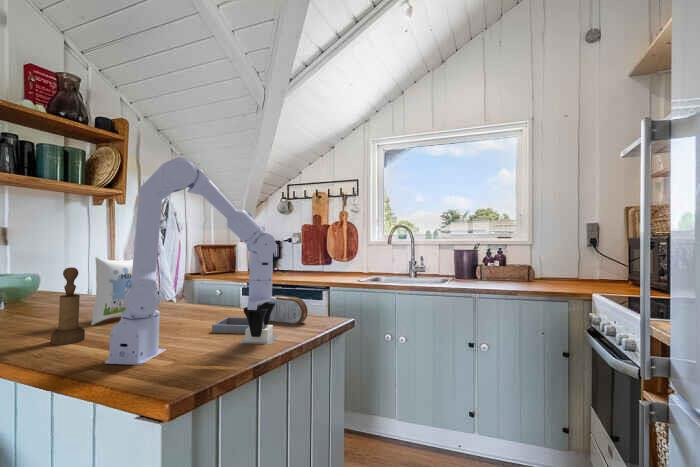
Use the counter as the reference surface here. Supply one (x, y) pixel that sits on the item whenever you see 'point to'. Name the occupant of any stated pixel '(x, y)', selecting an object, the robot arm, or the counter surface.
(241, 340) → the grey plate with post
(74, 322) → the brown tall wooden piece
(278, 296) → the tin
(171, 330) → the counter surface
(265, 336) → the ring
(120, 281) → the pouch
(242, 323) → the tray
